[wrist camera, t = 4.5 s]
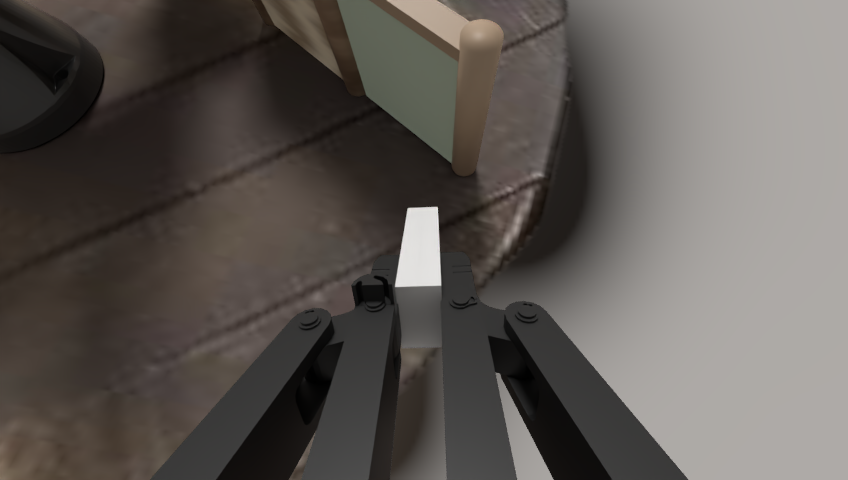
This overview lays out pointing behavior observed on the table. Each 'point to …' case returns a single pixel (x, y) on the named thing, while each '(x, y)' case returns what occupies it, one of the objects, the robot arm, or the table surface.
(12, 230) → the table surface
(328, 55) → the fence fixed
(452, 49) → the fence gate
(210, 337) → the table surface
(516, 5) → the table surface
